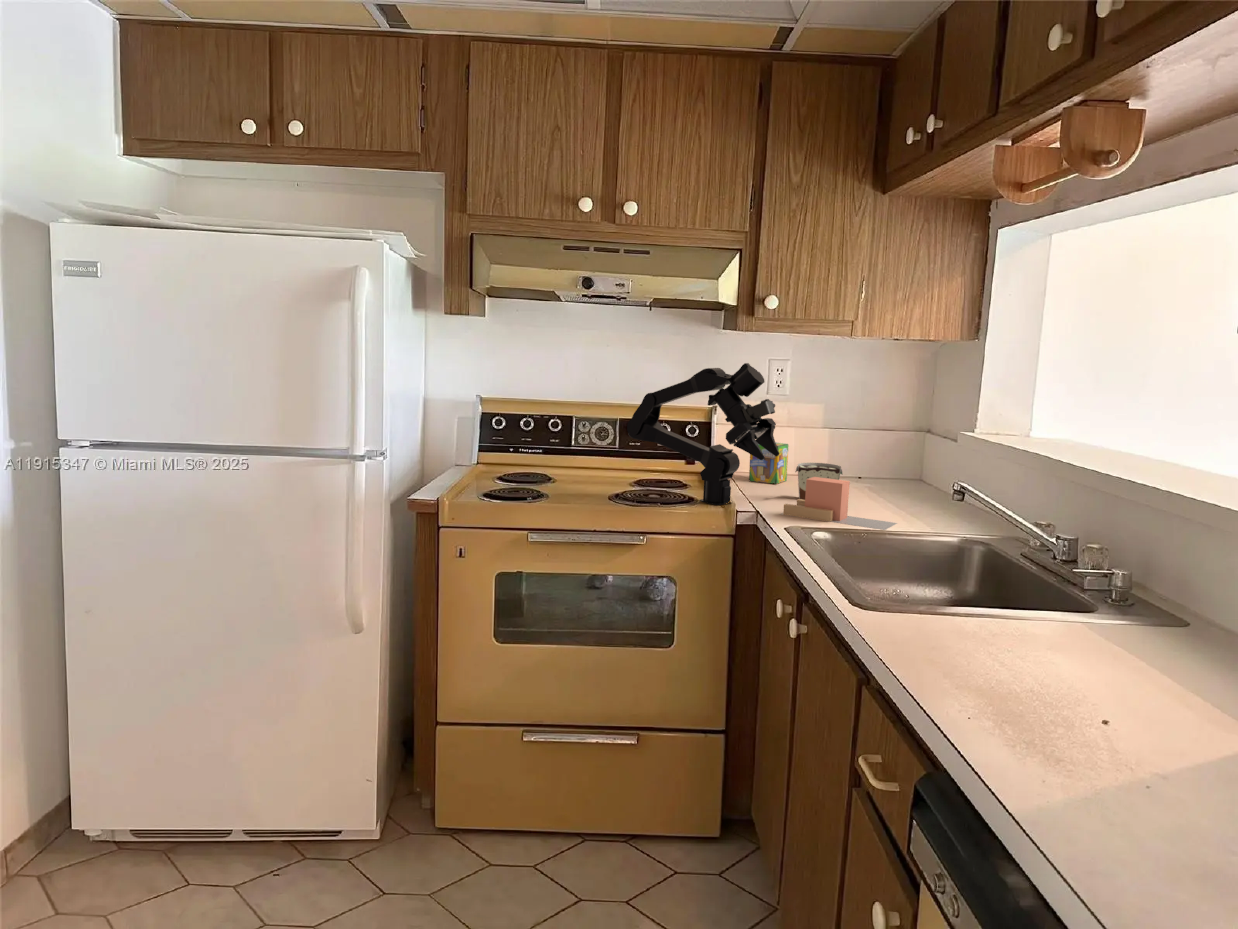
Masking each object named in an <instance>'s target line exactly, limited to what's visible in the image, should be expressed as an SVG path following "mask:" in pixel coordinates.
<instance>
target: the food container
mask: <svg viewBox="0 0 1238 929" xmlns="http://www.w3.org/2000/svg"><path fill="white" fill-rule="evenodd" d="M795 473H797V481H798V483H797V485H798V499H803V500H805V494H806V479H809V478H812V477H820V478H828V479H836V480H840V477H841V475H843V469H842V466H840V465H838V464H832V463H825V462H824V463H823V462H801V463H798V464H797V465H796V469H795Z"/></svg>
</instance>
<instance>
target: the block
mask: <svg viewBox="0 0 1238 929" xmlns="http://www.w3.org/2000/svg"><path fill="white" fill-rule="evenodd" d="M850 482H851V481H850V480H843V479H839V480H836V479H828V478H820V477H812V478H809V479H806V494H805V506H806V507H813V508H820V509H827V510H833V520H836V521H841V520H843V519H845V518H847V516H848V510H849V509H848V508H849V498H850V497H849V495H850V484H851V483H850Z"/></svg>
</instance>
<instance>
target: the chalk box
mask: <svg viewBox="0 0 1238 929" xmlns="http://www.w3.org/2000/svg"><path fill="white" fill-rule="evenodd" d="M757 444H758V443H757ZM776 445H777V448H778V451H779V453H780V454H779V455H778V456H775V455H773V454H772V453H770V452H769V451H768V450H766V449H765V448H764V447H762V446H761V445H759V444H758V446H759V447H760V449H761V451H762V453H763V455H764V457H765V458H764V459H763V460H760V459H758V458H756V457H755V456H753V455H751V454H749V474H748V481H749V480H750V481H756V482H755V483H764V484H773V483H774V485H777V483H778V484H781V483H784V482H787V479H788V478H787V477H788V460H789V444H788V443H783V442H782V443H781V442H776ZM750 481H749V482H750Z"/></svg>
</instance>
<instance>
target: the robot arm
mask: <svg viewBox="0 0 1238 929" xmlns="http://www.w3.org/2000/svg"><path fill="white" fill-rule="evenodd" d="M764 383H765V378H764V376H763V375H762V373H761V372H760V371H758V370H757V369H756V368H755V367H753V366H752V365H751V364H750V363H749V362H745V363H743V364H742V365H741V366H740V368H739V369H738V370H737V371H736V372H734V373H733V374H729V373H726V371H725V370H724V369H722V368H721V367H708V368H703V369H702V370H700V371H698V372H696V373H695V374H693V375H692V376H691V377H690V378H688V379H686V380H684V381H681V382H678V383H676V384H673V385H670V386H667V387H664V388H661V389H659V390H656V391H654V392H648V393H646V394H645V395H644V397H643V399H642V401H641V403H640V404H639V405H638V407H637V408H636V410H635V411H634V412H633V415H632V417H631V419H630V420H629V421H628V422H627V424H626V425H627V426H626V431H627V434H628V436H629V437H630V438H631V439H634V440H638V441H641V442H649V443H656V444H658V445H661V446H663V447H665V448H667V449H670V450H671V451H674V452H676V453H678V454H681V455H683V456H685V457H688V458H690V459H692V460H695V461H697V462H698V463H700V464H701V465H702V466H703V467H704V468H703V470H701V471H700V472H699V474H700V477H701V478H700V479H701V480H702V481H703V494H702V497H703V498H701V499H699V500H698V501H699V503H705V504H708V505H714V506H722V505H727V504H726V503H728V502H729V501H730V500H731V495H732V494H731V493H732V490H731V489H732V487H731V480H730V479H732V478H733V476H734V475H735V472H737V471H738V470H739V467H740V464H741V463H740V458H739V455H738V454H737V453H736V452H734V449H733V448H728V447H725V446H724V445H722V444H716V445H715V444H714V445H710V446H706V445H703V444H701V443H699V442H696V441H693V440H692V439H689V438H687V437H684V436H682V435H680V434H678V433H675V432H673V431H671V430H668V429H667V428H665V427H664V426H663V425H662V423H661V422H659V419H660V415H661V409H662V406H663V405H665V404H669V403H671V402H674V401H677V400H679V399H683V398H685V397H688V396H691V395H694V394H697V393H705V392H712V391H716V393H715V394H709V395H708V401H707V406H715V405H717V406H718V408H719V409H720V410H721V411H722V413H724V416H726V418H725V419H724V420H725V422H727V423H731V425H732V428H731V429H729V431H727V432H726V433H725V441H727V442H728V444H729V445H733V447H736V448H738V449H740V450H742V451H744V452H745V453H748V454H749V455H750V454H751V455H753V456H755V457H756V458H758V459H760V460H763V459H764V458H765V457H764V455H763V453H762V451H761V449H760V447H759V446H758V444H759V445H761V446H762V447H764V448H765V449H766V450H768V451H769V452H770V453H772V454H773V455H775V456H778V455H779V454H780V453H779V451H778V448H777V445H776V443H777V442H776V441H775V437H774V431H775V429H776V425H777V423H776V421H775V420H774V419H773V418H770V417H766V418H765V416H768V415H773V414H775V413H776V410H775V407H776V404H775V403H774V402H773V400H771V399H769V398H765V399H763V400H761V401H760V402H759V403H756V404H755V405H751V404H749V403H747V404H746V403H745V402H744V400H743V398H742V397H746V398H748V397H749V396H751V395H752V394H753V393H754V392H756V390H758V389H759V388H760V387H761V386H762V385H763V384H764ZM726 385H728V386H727V387H726ZM762 417H764V418H762ZM757 443H758V444H757Z"/></svg>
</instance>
